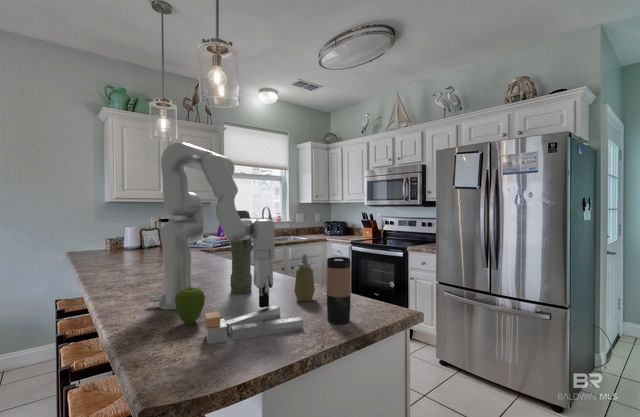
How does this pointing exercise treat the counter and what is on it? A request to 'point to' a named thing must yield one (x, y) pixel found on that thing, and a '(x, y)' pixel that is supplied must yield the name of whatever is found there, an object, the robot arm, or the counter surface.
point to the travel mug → (338, 290)
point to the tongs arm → (254, 317)
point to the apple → (189, 304)
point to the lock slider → (212, 319)
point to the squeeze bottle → (304, 281)
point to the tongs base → (252, 329)
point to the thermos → (241, 263)
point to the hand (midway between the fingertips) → (264, 306)
